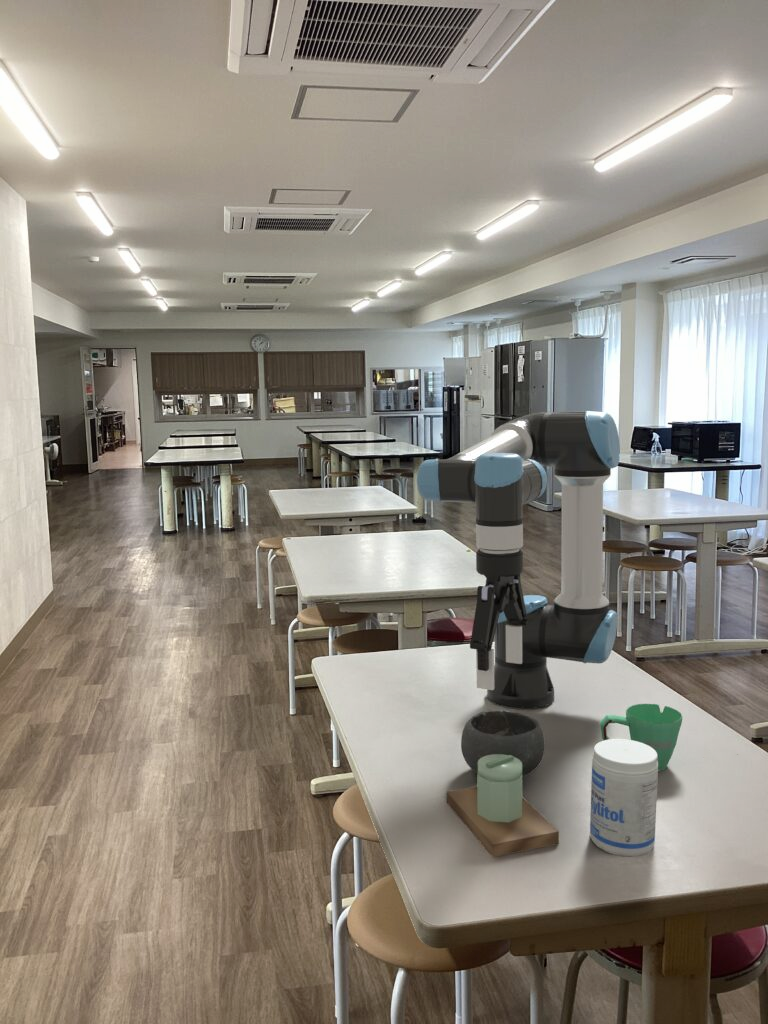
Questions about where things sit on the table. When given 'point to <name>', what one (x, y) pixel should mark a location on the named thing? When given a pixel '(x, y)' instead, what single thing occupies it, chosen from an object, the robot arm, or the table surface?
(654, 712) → the mug
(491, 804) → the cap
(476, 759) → the bowl
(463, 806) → the stud block
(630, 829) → the supplement tub
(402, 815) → the table surface
